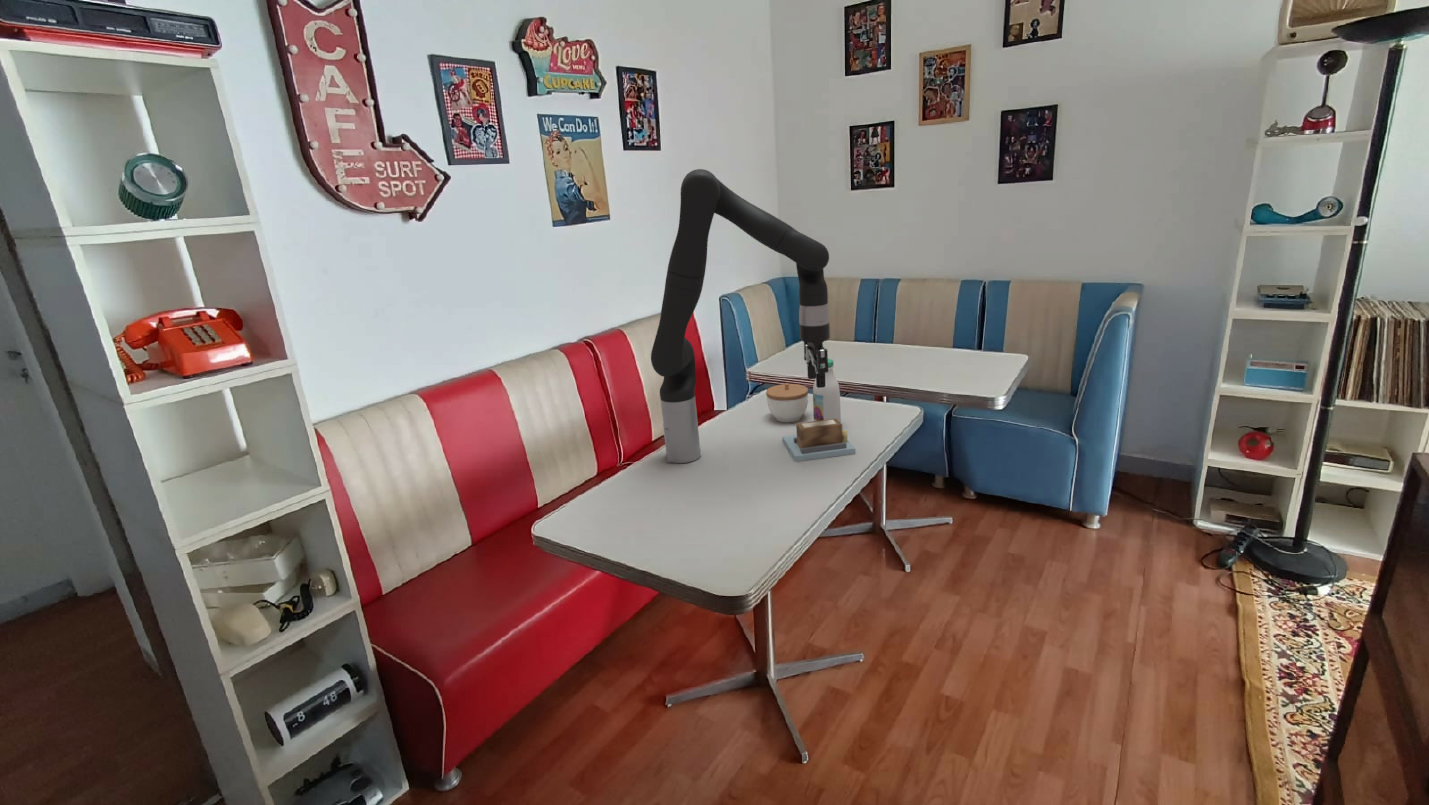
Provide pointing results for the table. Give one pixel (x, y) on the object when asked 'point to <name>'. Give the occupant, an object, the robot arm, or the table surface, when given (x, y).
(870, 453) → the table surface
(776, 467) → the table surface
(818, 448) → the light blue flat tray
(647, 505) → the table surface
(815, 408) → the milk bottle
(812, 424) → the wooden block
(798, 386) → the lidded bowl
